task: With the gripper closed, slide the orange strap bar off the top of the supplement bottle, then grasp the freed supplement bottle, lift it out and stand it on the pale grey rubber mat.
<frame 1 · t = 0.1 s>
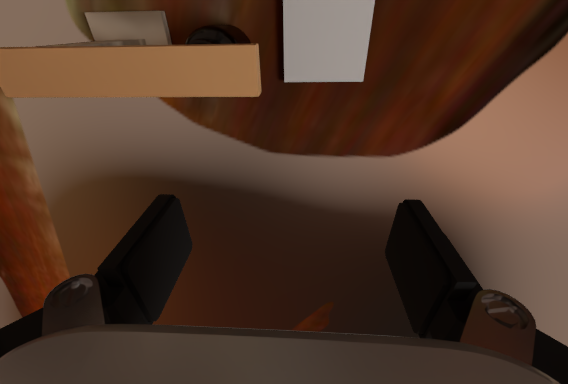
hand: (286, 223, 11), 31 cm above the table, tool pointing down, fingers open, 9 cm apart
supplement bottle: (230, 53, 35), on the table
grey mat: (325, 35, 33), on the table
strap bar: (127, 71, 23), point 15 cm above the table, slide at 0.0 cm
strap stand: (139, 55, 36), on the table
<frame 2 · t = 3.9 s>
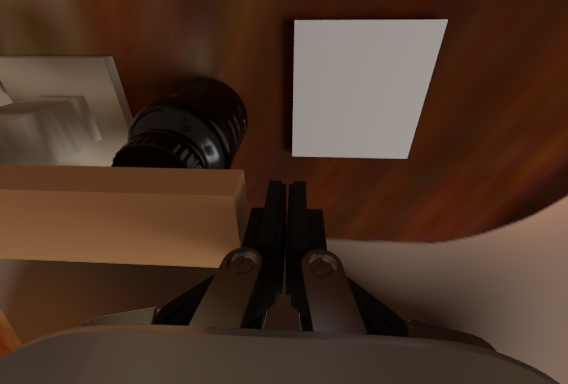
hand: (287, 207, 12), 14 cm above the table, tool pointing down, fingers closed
supplement bottle: (214, 115, 24), on the table
grey mat: (355, 95, 22), on the table
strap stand: (81, 114, 25), on the table
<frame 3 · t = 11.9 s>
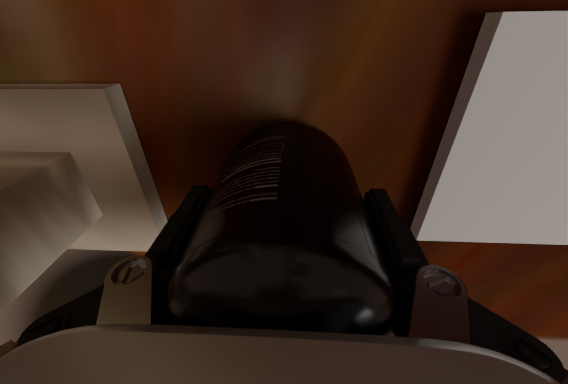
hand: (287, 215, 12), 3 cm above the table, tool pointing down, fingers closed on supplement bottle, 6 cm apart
supplement bottle: (289, 176, 14), on the table, touching gripper
grey mat: (554, 147, 12), on the table
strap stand: (69, 174, 15), on the table
when the fingers open (6 cm above the table, at t = 19.4 s): supplement bottle drops 1 cm, resting on grey mat.
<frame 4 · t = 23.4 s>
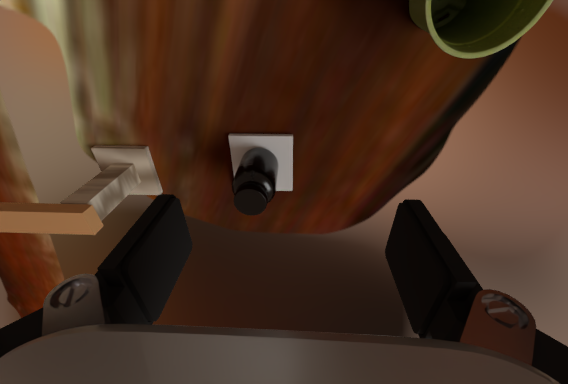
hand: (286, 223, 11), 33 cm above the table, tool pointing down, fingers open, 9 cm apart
supplement bottle: (260, 163, 46), point 1 cm above the table, touching grey mat
grey mat: (262, 162, 47), on the table
strap bar: (15, 217, 37), point 15 cm above the table, slide at 15.9 cm
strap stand: (130, 169, 49), on the table
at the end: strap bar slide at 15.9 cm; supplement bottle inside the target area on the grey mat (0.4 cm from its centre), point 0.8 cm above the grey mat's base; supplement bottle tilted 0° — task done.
